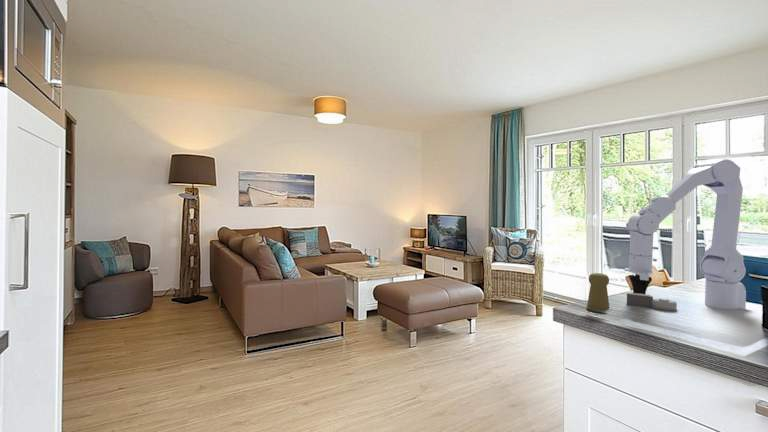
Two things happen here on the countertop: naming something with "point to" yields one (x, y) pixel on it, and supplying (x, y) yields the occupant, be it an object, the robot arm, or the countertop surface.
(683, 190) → the robot arm
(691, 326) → the countertop surface
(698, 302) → the countertop surface
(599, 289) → the cork
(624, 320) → the countertop surface
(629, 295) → the peg dial
